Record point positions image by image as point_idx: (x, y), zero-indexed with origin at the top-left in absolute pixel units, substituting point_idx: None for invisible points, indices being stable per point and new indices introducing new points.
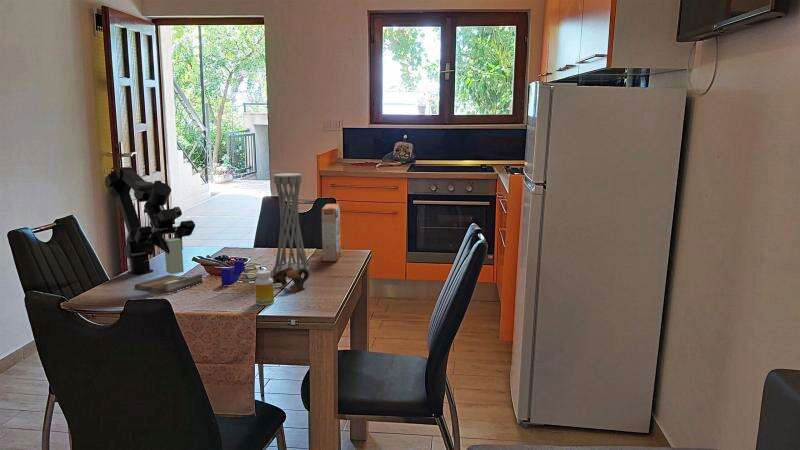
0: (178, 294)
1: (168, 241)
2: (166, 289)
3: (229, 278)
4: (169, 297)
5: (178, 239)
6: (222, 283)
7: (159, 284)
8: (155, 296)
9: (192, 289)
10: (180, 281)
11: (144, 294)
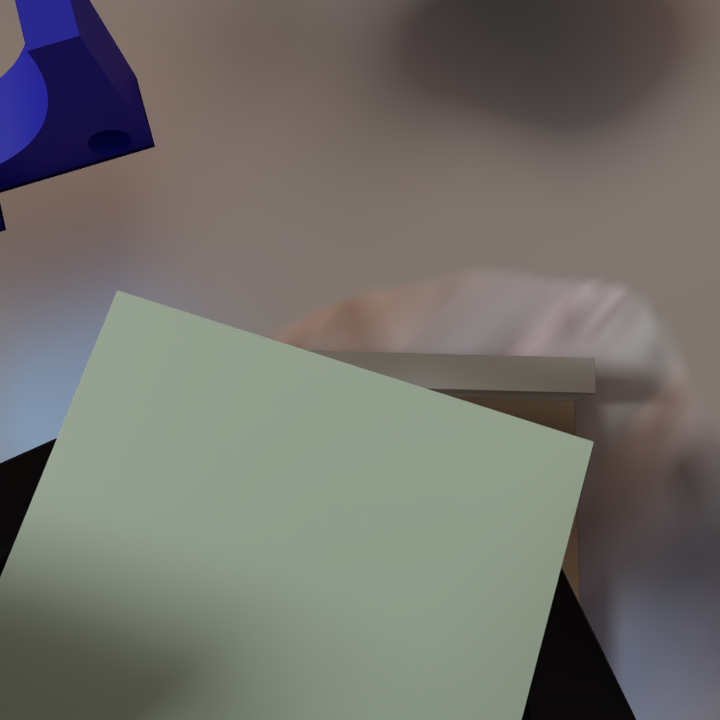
0: (525, 293)
1: (562, 527)
2: (559, 421)
3: (106, 29)
4: (630, 296)
5: (178, 367)
6: (142, 127)
7: None
8: (672, 441)
9: (350, 298)
10: (424, 355)
11: (681, 602)
